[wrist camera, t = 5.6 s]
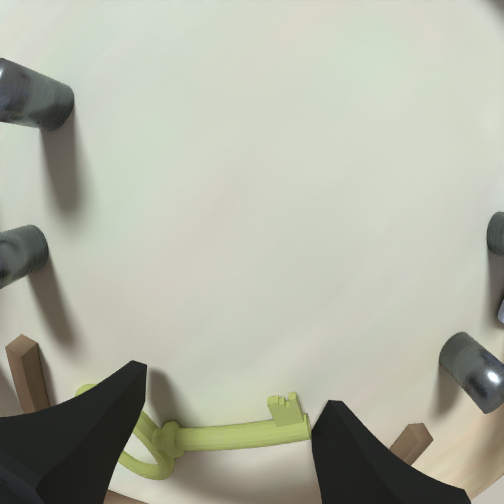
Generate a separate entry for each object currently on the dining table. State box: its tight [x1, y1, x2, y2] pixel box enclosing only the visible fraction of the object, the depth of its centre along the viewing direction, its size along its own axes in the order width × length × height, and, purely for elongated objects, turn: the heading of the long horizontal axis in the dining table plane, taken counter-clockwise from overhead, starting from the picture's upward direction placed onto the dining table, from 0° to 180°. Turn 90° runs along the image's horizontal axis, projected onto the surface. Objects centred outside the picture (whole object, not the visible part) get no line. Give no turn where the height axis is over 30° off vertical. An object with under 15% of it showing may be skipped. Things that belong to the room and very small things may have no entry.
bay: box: [5, 334, 433, 504], centre depth 12 cm, size 22×15×2 cm
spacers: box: [0, 58, 504, 414], centre depth 8 cm, size 22×8×4 cm, turn 75°
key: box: [75, 384, 312, 480], centre depth 11 cm, size 7×12×2 cm, turn 126°
